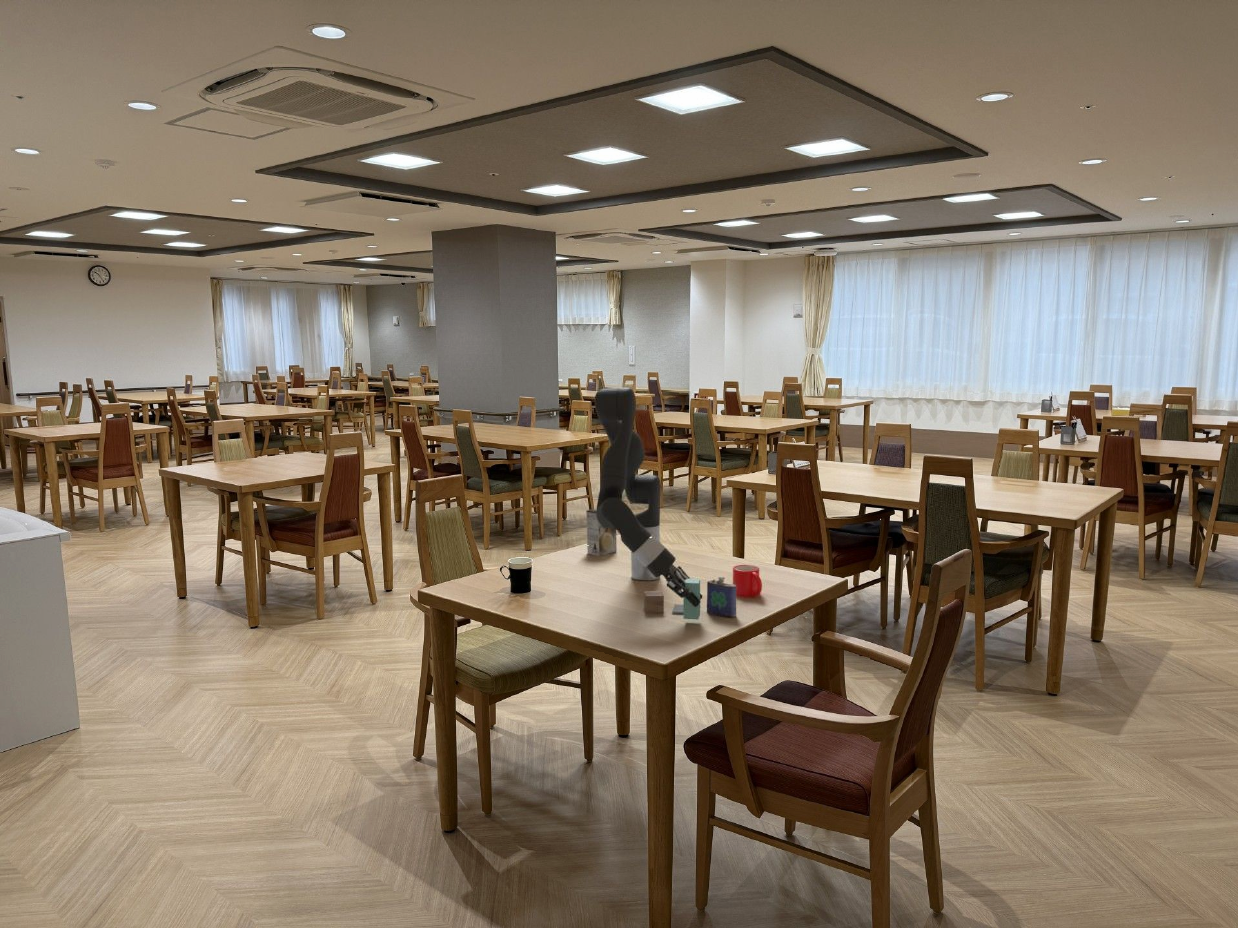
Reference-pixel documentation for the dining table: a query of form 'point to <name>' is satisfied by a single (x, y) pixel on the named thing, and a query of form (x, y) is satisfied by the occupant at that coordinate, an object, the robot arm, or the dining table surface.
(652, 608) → the walnut block
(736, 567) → the mug
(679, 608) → the slate coaster
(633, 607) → the dining table surface
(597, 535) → the coffee box
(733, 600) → the flask
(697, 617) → the teal post
